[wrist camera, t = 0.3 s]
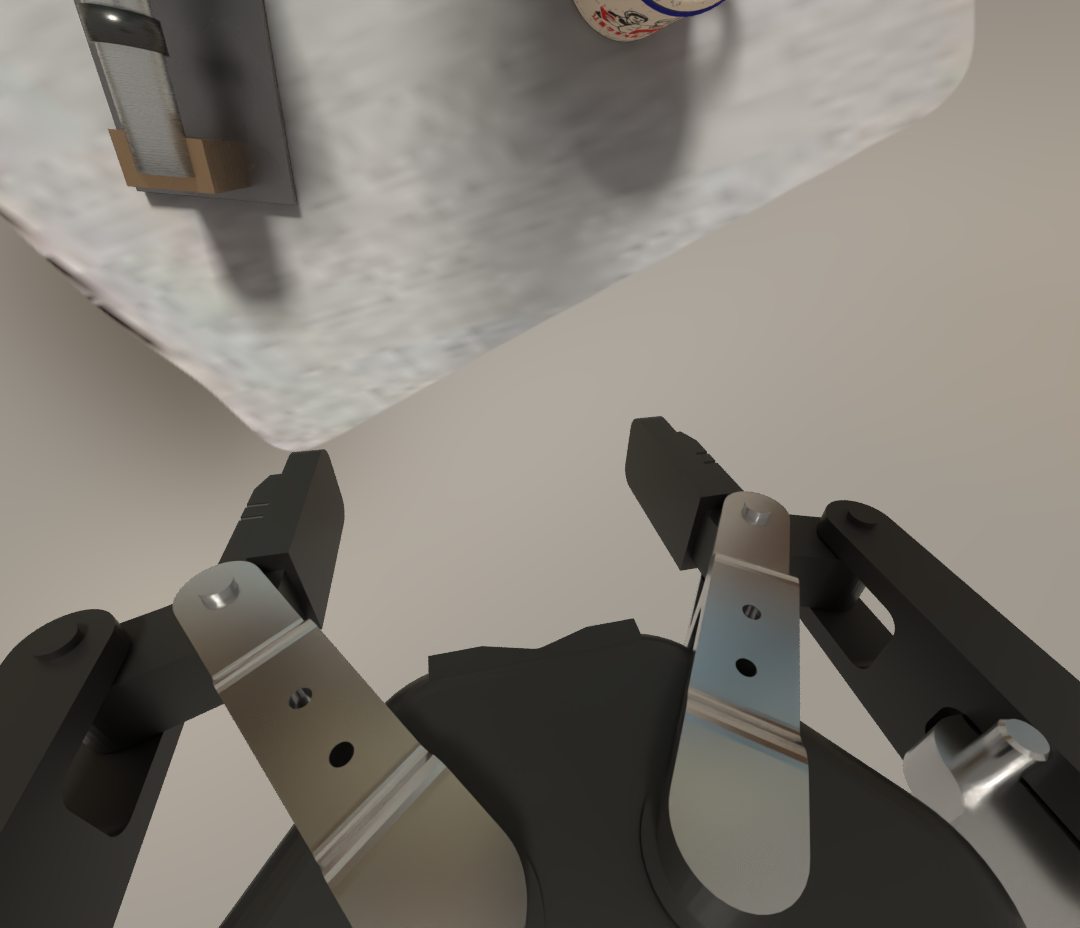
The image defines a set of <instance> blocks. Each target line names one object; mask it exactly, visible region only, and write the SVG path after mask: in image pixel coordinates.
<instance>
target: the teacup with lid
mask: <svg viewBox="0 0 1080 928" xmlns="http://www.w3.org/2000/svg"><path fill="white" fill-rule="evenodd" d="M723 1H725V0H574V3H575V5H576V6H577V8H578V10H579V12H580V13H581V15H582V16H583V18H584V19H585V20H586V21H587V23H588V24H589V25H590V26H591V27H592V28H593V29H595V30H596V31H597V32H598V33H600V34H602V35H603V36H605V37H607V38H610V39H613V40H617V41H634V40H638V39H642V38H644V37H646V36H648V35H650V34H652V33H654V32H656V31H658V30H660V29H662V28H664V27H666V26H668V25H669V24H671V23H673V22H675V21H677V20H679V19H681V18H683V17H688V16H694V15H698V14H701V13H704V12H706V11H709V10H711V9H712V8H714V7H716V6H718V5H719V4H720V3H722V2H723Z"/></svg>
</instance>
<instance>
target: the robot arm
mask: <svg viewBox="0 0 1080 928" xmlns="http://www.w3.org/2000/svg"><path fill="white" fill-rule="evenodd" d="M625 472H626V479H627V482H628V485H629V487H630V488H631V490H632V492H633V493H634V495H635V497H636V499H637V500H638V502H639V503H640V505H641V507H642V508H643V510H644V511H645V513H646V515H647V517H648V518H649V520H650V521H651V523H652V525H653V526H654V528H655V530H656V531H657V533H658V535H659V536H660V538H661V539H662V541H663V543H664V545H665V546H666V548H667V549H668V551H669V553H670V554H671V556H672V557H673V559H674V561H675V562H676V564H677V566H678V568H679V569H680V570H687V569H693V568H698V569H699V570H700V572H701V576H700V579H699V583H698V587H697V591H696V596H695V600H694V604H693V609H692V613H691V618H690V622H689V626H688V630H687V635H686V639H685V643H684V645H682V644H679V643H677V642H674V641H672V640H669V639H665V638H662V637H658V636H653V635H648V634H640V632H639V629H638V627H637V625H636V623H635V620H634V619H628V620H622V621H617V622H612V623H606V624H600V625H595V626H590V627H585V628H583V629H581V630H579V631H577V632H575V633H572V634H570V635H568V636H566V637H564V638H562V639H559V640H557V641H555V642H553V643H551V644H548V645H546V646H544V647H541V648H538V649H524V648H505V647H504V648H503V647H486V646H481V647H475V648H470V649H465V650H459V651H454V652H449V653H443V654H438V655H432V656H428V659H429V660H428V662H429V663H428V665H429V674H426V675H424V676H422V677H420V678H418V679H416V680H415V681H413V682H411V683H409V684H408V685H406V686H405V687H404V688H402V689H401V690H399V691H398V692H397V693H395V694H394V695H393V696H392V697H391V698H390V699H389V700H388V701H386V702H385V703H384V702H383V701H382V700H381V699H380V697H379V696H378V695H377V694H376V693H375V692H374V691H373V689H372V688H371V687H370V686H369V685H368V684H367V682H366V681H365V680H364V679H363V678H362V677H361V676H360V674H359V673H358V672H357V671H356V670H355V669H354V668H353V667H352V665H351V664H350V663H349V662H348V661H347V660H346V659H345V657H344V656H343V655H342V654H341V653H340V652H339V651H338V649H337V648H336V647H335V646H334V645H333V644H332V643H331V642H330V640H329V639H328V638H327V637H326V636H325V634H324V633H323V632H322V631H321V630H320V629H322V626H323V622H324V616H325V612H326V607H327V602H328V598H329V593H330V588H331V583H332V578H333V573H334V568H335V563H336V559H337V553H338V548H339V544H340V539H341V533H342V529H343V524H344V504H343V500H342V496H341V493H340V490H339V486H338V483H337V480H336V476H335V473H334V470H333V467H332V464H331V460H330V457H329V455H328V453H327V451H326V450H325V449H322V450H312V451H302V452H292V453H291V454H290V455H289V458H288V460H287V462H286V465H285V467H284V470H283V472H282V474H277V475H270V476H269V477H268V478H267V479H265V480H264V481H263V482H262V483H261V484H260V485H259V486H258V487H256V488H255V489H254V491H253V493H252V495H251V497H250V499H249V502H248V503H247V508H245V510H244V512H243V514H242V516H241V521H239V522H238V524H237V526H236V528H235V530H234V532H233V535H232V537H231V538H230V540H229V543H228V545H227V547H226V549H225V551H224V553H223V555H222V557H221V559H220V561H219V563H218V565H216V566H213V567H211V568H209V569H206V570H204V571H202V572H201V573H199V574H197V575H196V576H194V577H193V578H191V579H190V580H189V581H188V582H187V583H186V584H185V585H184V586H183V587H182V588H181V589H180V590H179V592H178V593H177V594H176V597H175V598H174V601H173V604H171V605H169V606H167V607H164V608H161V609H159V610H156V611H153V612H151V613H148V614H145V615H142V616H139V617H136V618H134V619H131V620H128V621H125V622H122V623H120V624H119V623H118V621H117V620H116V619H115V618H114V617H113V615H111V614H110V613H109V612H107V611H104V610H99V609H90V610H83V611H78V612H74V613H71V614H68V615H65V616H62V617H60V618H58V619H55V620H53V621H51V622H49V623H47V624H45V625H44V626H42V627H40V628H39V629H37V630H36V631H34V632H33V633H31V634H30V635H28V636H27V637H26V638H25V639H23V640H22V641H21V642H20V643H19V644H18V645H17V646H15V647H14V648H13V649H12V651H11V652H10V653H9V654H8V655H7V657H6V658H5V660H4V661H3V662H2V664H1V665H0V928H113V926H114V923H115V920H116V917H117V914H118V911H119V909H120V906H121V903H122V900H123V897H124V894H125V891H126V888H127V885H128V883H129V880H130V877H131V874H132V871H133V868H134V866H135V863H136V859H137V857H138V854H139V851H140V848H141V845H142V843H143V840H144V837H145V834H146V831H147V828H148V825H149V822H150V820H151V817H152V814H153V811H154V808H155V805H156V802H157V799H158V796H159V794H160V791H161V788H162V785H163V782H164V779H165V777H166V773H167V771H168V768H169V765H170V762H171V759H172V756H173V753H174V751H175V748H176V745H177V742H178V739H179V736H180V733H181V731H182V728H183V725H184V722H185V721H187V720H189V719H192V718H194V717H196V716H198V715H200V714H203V713H205V712H207V711H209V710H211V709H213V708H216V707H218V706H220V705H222V704H225V706H226V708H227V709H228V711H229V713H230V715H231V716H232V718H233V720H234V721H235V723H236V725H237V726H238V728H239V730H240V732H241V733H242V735H243V737H244V738H245V740H246V742H247V743H248V745H249V747H250V749H251V750H252V752H253V754H254V755H255V757H256V759H257V760H258V762H259V764H260V766H261V767H262V769H263V770H264V772H265V774H266V776H267V777H268V779H269V781H270V782H271V784H272V786H273V788H274V789H275V791H276V793H277V795H278V796H279V798H280V800H281V801H282V803H283V805H284V806H285V808H286V810H287V811H288V813H289V815H290V817H291V818H292V820H293V822H294V824H293V826H292V827H291V829H290V830H289V832H288V833H287V834H286V836H285V837H284V838H283V840H282V841H281V842H280V844H279V845H278V846H277V848H276V849H275V851H274V852H273V853H272V855H271V856H270V858H269V859H268V860H267V862H266V863H265V865H264V866H263V867H262V869H261V870H260V872H259V873H258V874H257V875H256V877H255V878H254V880H253V881H252V882H251V884H250V885H249V886H248V888H247V889H246V891H245V892H244V893H243V895H242V896H241V898H240V899H239V900H238V902H237V903H236V904H235V906H234V907H233V909H232V910H231V911H230V913H229V914H228V915H227V917H226V918H225V920H224V921H223V922H222V924H221V925H220V926H219V928H1080V681H1079V680H1077V679H1076V678H1075V677H1074V676H1073V675H1072V674H1071V673H1069V672H1068V671H1067V670H1066V669H1065V668H1064V667H1062V666H1061V665H1060V664H1059V663H1058V662H1057V661H1055V660H1054V659H1053V658H1052V657H1051V656H1049V655H1048V654H1047V653H1046V652H1045V651H1044V650H1042V649H1041V648H1040V647H1039V646H1038V645H1037V644H1036V643H1034V642H1033V641H1032V640H1031V639H1030V638H1029V637H1027V636H1026V635H1025V634H1024V633H1023V632H1022V631H1020V630H1019V629H1018V628H1017V627H1016V626H1015V625H1013V624H1012V623H1011V622H1010V621H1009V620H1008V619H1007V618H1005V617H1004V616H1003V615H1002V614H1001V613H1000V612H998V611H997V610H996V609H995V608H994V607H993V606H991V605H990V604H989V603H988V602H987V601H986V600H984V599H983V598H982V597H981V596H980V595H979V594H977V593H976V592H975V591H974V590H973V589H972V588H970V587H969V586H968V585H967V584H966V583H965V582H963V581H962V580H961V579H960V578H959V577H958V576H956V575H955V574H954V573H953V572H952V571H951V570H949V569H948V568H947V567H946V566H945V565H943V564H942V563H941V562H940V561H939V560H938V559H937V558H936V557H934V556H933V555H932V554H931V553H930V552H929V551H927V550H926V549H925V548H924V547H923V546H922V545H920V544H919V543H918V542H917V541H916V540H915V539H913V538H912V537H911V536H910V535H909V534H907V533H906V532H905V531H904V530H903V529H902V528H901V527H899V526H898V525H897V524H896V523H895V522H894V521H893V520H891V519H890V518H889V517H888V516H886V515H885V514H883V513H882V512H880V511H879V510H877V509H875V508H873V507H871V506H868V505H865V504H862V503H859V502H854V501H847V500H840V501H834V502H831V503H830V504H828V505H827V507H826V509H825V511H824V513H823V515H822V517H810V516H799V515H790V514H789V513H788V512H787V510H786V509H785V508H784V507H783V506H782V505H781V504H780V503H778V502H777V501H776V500H774V499H772V498H770V497H768V496H765V495H762V494H759V493H754V492H748V491H743V490H742V489H741V488H740V487H739V486H738V484H737V483H736V482H735V481H734V480H733V479H732V478H731V477H730V476H729V475H728V474H727V473H726V472H725V471H724V470H723V468H722V467H721V466H720V465H719V464H718V463H715V460H714V459H713V458H712V457H711V455H710V454H707V451H706V450H705V449H704V448H703V447H702V446H701V445H700V444H699V443H698V442H697V441H696V440H695V439H693V438H691V437H689V436H688V435H686V434H684V433H682V432H676V431H675V430H674V429H673V428H672V427H671V425H670V424H669V423H668V422H667V421H666V420H665V419H664V418H663V417H662V416H658V417H648V418H637V419H634V420H633V422H632V425H631V430H630V437H629V443H628V450H627V457H626V464H625ZM865 587H867V588H868V589H869V590H870V591H871V593H872V594H874V596H875V597H876V598H877V599H878V600H879V601H880V602H881V603H882V604H883V605H884V607H885V608H886V609H887V610H888V611H889V613H890V614H891V616H892V618H893V621H894V624H895V632H894V635H892V634H891V633H890V632H889V631H888V630H887V628H886V627H885V626H884V625H883V624H882V623H881V622H880V620H879V619H877V617H876V616H875V615H874V614H873V613H872V612H871V610H870V609H869V608H868V607H867V606H866V605H865V604H864V603H863V601H862V600H861V599H860V598H859V596H860V595H861V593H862V592H863V590H864V588H865ZM800 619H801V620H802V622H803V623H804V625H805V626H806V627H807V629H808V630H809V631H810V633H811V634H812V636H813V637H814V638H815V640H816V641H817V642H818V644H819V645H820V647H821V648H822V649H823V651H824V652H825V653H826V655H827V656H828V657H829V659H830V660H831V662H832V663H833V664H834V666H835V667H836V669H837V670H838V671H839V673H840V674H841V675H842V677H843V678H844V679H845V681H846V682H847V684H848V685H849V686H850V688H851V689H852V691H853V692H854V693H855V695H856V696H857V697H858V699H859V700H860V702H861V703H862V704H863V706H864V707H865V708H866V710H867V711H868V713H869V714H870V715H871V717H872V718H873V719H874V721H875V722H876V724H877V725H878V726H879V728H880V729H881V730H882V732H883V733H884V734H885V736H886V737H887V739H888V740H889V741H890V743H891V744H892V745H893V747H894V748H895V750H896V751H897V753H898V754H899V755H900V757H901V758H902V759H903V771H904V775H905V779H906V781H907V783H908V786H909V788H910V789H911V791H912V792H911V793H908V792H907V791H905V790H904V789H902V788H901V787H899V786H898V785H896V784H895V783H893V782H892V781H890V780H889V779H887V778H886V777H884V776H882V775H881V774H880V773H878V772H877V771H875V770H874V769H872V768H871V767H869V766H867V765H866V764H864V763H863V762H862V761H860V760H859V759H857V758H855V757H854V756H852V755H851V754H849V753H848V752H846V751H845V750H843V749H842V748H840V747H839V746H837V745H836V744H834V743H833V742H831V741H830V740H828V739H826V738H825V737H824V736H822V735H821V734H819V733H818V732H816V731H815V730H813V729H812V728H810V727H809V726H807V725H806V724H804V723H803V722H801V721H800V645H799V644H800V642H799V641H800V634H799V633H800V627H799V626H800V625H799V624H800Z"/></svg>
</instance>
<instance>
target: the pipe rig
mask: <svg viewBox="0 0 1080 928" xmlns="http://www.w3.org/2000/svg"><path fill="white" fill-rule="evenodd" d="M74 2H75V5H76V8H77V11H78V15H79V18H80V21H81V24H82V27H83V30H84V33H85V36H86V39H87V42H88V45H89V48H90V51H91V54H92V57H93V60H94V63H95V66H96V69H97V72H98V75H99V78H100V81H101V84H102V87H103V90H104V93H105V96H106V99H107V102H108V105H109V108H110V111H111V114H112V117H113V120H114V123H115V126H116V129H117V130H115V129H108V130H109V133H110V136H111V139H112V142H113V145H114V148H115V151H116V154H117V157H118V160H119V162H120V165H121V168H122V171H123V174H124V177H125V180H126V183H127V186H133V187H136V189H137V191H143V192H154V193H166V194H177V195H188V196H199V197H211V198H222V199H233V200H244V201H256V202H267V203H278V204H289V205H296V204H297V199H296V194H295V188H294V182H293V176H292V170H291V164H290V158H289V152H288V146H287V140H286V134H285V128H284V122H283V116H282V111H281V105H280V99H279V93H278V87H277V81H276V75H275V69H274V63H273V57H272V51H271V45H270V39H269V33H268V27H267V22H266V16H265V10H264V4H263V0H74Z"/></svg>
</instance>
